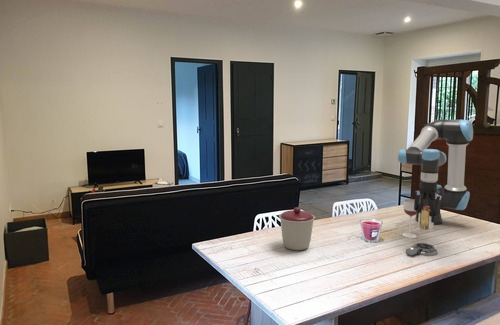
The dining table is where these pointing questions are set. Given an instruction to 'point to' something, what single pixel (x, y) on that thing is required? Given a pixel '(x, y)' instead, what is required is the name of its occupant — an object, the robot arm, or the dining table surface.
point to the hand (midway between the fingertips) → (425, 226)
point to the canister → (296, 228)
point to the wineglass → (411, 212)
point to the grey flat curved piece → (421, 249)
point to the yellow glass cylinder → (425, 217)
